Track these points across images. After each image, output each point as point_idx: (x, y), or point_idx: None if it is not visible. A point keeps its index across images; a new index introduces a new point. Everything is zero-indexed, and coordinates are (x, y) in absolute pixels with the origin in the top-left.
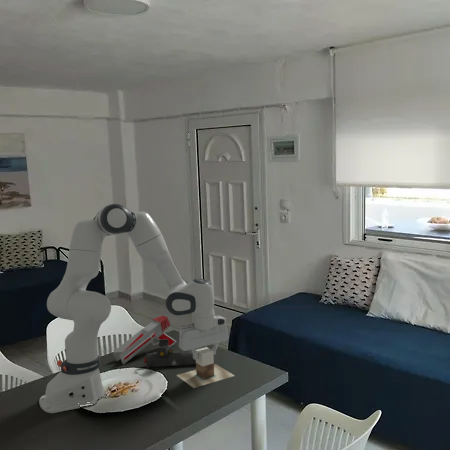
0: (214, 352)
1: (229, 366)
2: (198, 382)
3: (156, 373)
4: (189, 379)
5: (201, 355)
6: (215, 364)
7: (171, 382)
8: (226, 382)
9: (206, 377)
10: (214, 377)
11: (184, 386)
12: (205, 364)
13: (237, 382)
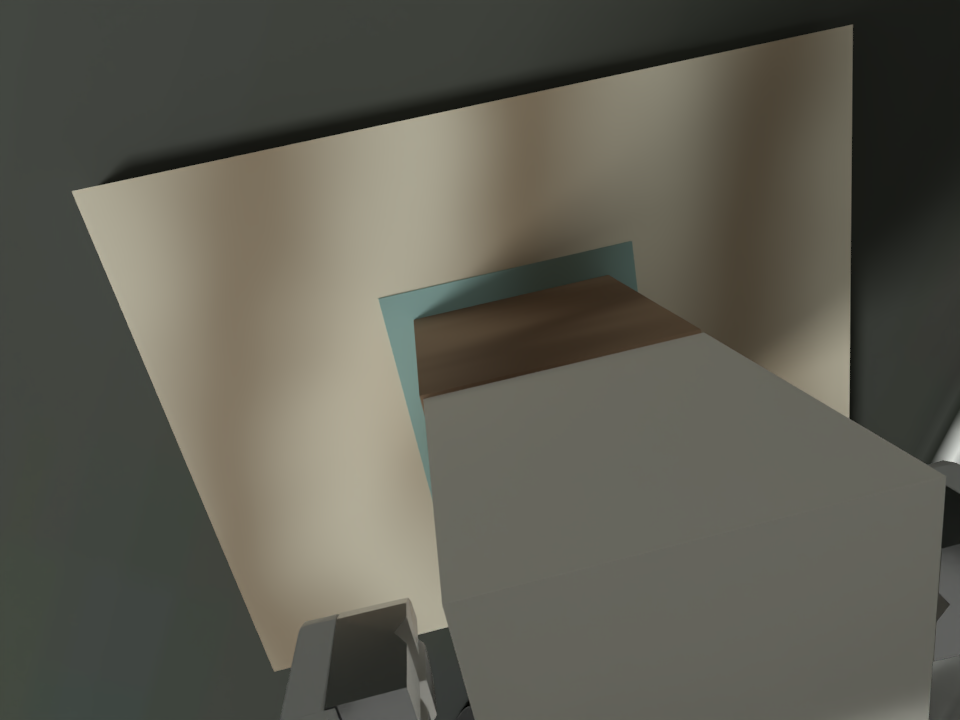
0: (347, 649)
1: (91, 600)
2: (709, 194)
3: (938, 663)
4: (770, 346)
5: (886, 467)
6: (280, 663)
7: (928, 407)
8: (276, 94)
9: (552, 289)
10: (428, 267)
11: (861, 233)
12: (638, 357)
13: (86, 3)
